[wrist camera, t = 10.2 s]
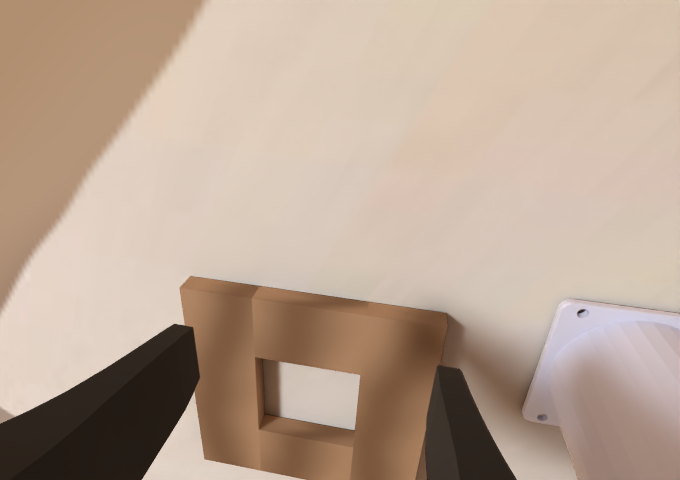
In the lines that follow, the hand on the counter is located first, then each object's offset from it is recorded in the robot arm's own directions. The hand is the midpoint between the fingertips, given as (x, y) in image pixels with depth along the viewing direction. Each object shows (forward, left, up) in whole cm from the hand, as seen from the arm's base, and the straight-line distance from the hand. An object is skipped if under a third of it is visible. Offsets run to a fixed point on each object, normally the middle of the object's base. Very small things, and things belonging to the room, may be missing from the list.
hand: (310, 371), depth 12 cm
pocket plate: (+2, +11, -9) cm, 15 cm away
